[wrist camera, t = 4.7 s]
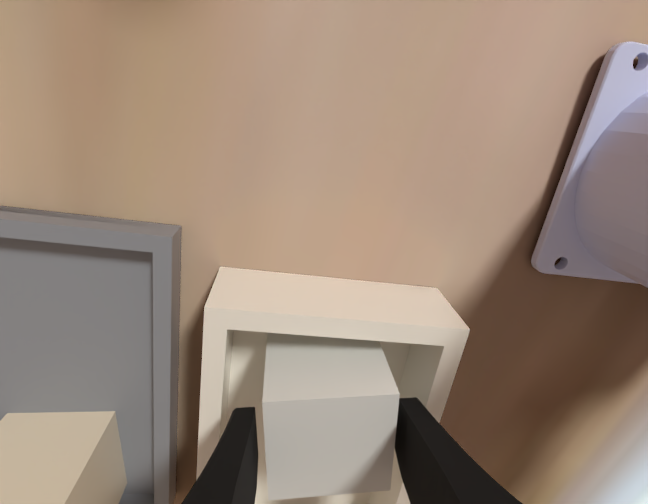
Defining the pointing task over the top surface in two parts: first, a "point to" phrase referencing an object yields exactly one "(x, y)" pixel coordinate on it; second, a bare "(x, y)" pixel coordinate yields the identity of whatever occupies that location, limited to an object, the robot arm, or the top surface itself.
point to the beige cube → (61, 458)
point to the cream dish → (324, 321)
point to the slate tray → (95, 331)
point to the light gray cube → (327, 416)
